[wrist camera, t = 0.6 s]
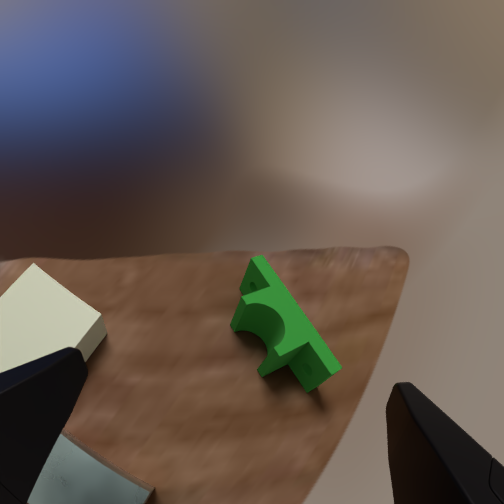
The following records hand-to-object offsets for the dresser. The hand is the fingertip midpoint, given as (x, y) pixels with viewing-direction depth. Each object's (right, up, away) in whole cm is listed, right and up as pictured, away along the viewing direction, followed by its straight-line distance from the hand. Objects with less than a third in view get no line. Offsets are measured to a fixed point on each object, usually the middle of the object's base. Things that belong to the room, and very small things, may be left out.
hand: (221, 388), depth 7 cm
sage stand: (-16, -4, +11) cm, 20 cm away
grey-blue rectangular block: (-10, -12, +6) cm, 17 cm away
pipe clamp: (+2, -4, +18) cm, 18 cm away
